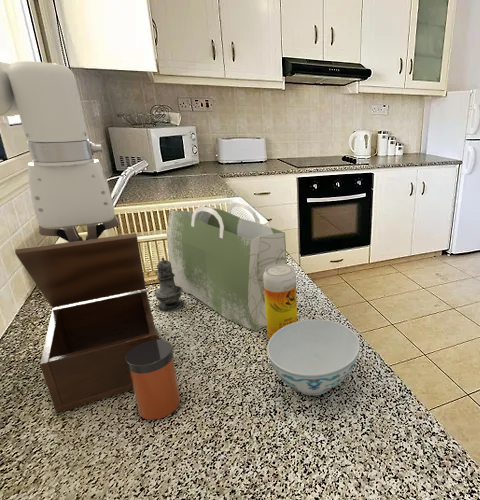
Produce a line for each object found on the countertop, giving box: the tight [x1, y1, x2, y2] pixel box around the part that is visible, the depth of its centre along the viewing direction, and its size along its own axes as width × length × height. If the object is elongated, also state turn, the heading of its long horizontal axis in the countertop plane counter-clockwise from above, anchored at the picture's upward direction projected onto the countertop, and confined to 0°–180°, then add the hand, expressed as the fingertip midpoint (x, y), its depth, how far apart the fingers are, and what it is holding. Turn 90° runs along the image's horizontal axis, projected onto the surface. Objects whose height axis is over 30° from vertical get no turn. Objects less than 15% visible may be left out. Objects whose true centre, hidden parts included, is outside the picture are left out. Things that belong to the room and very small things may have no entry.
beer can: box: [263, 263, 298, 340], centre depth 73 cm, size 6×6×15 cm
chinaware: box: [266, 318, 361, 396], centre depth 62 cm, size 15×15×8 cm
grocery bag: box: [166, 201, 287, 332], centre depth 86 cm, size 32×14×23 cm, turn 53°
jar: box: [125, 339, 181, 421], centre depth 56 cm, size 6×6×10 cm
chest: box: [39, 289, 159, 414], centre depth 65 cm, size 18×15×9 cm
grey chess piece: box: [153, 257, 184, 312], centre depth 84 cm, size 6×6×12 cm
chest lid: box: [14, 232, 147, 308], centre depth 63 cm, size 19×15×1 cm
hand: (90, 263), depth 63 cm, fingers closed
